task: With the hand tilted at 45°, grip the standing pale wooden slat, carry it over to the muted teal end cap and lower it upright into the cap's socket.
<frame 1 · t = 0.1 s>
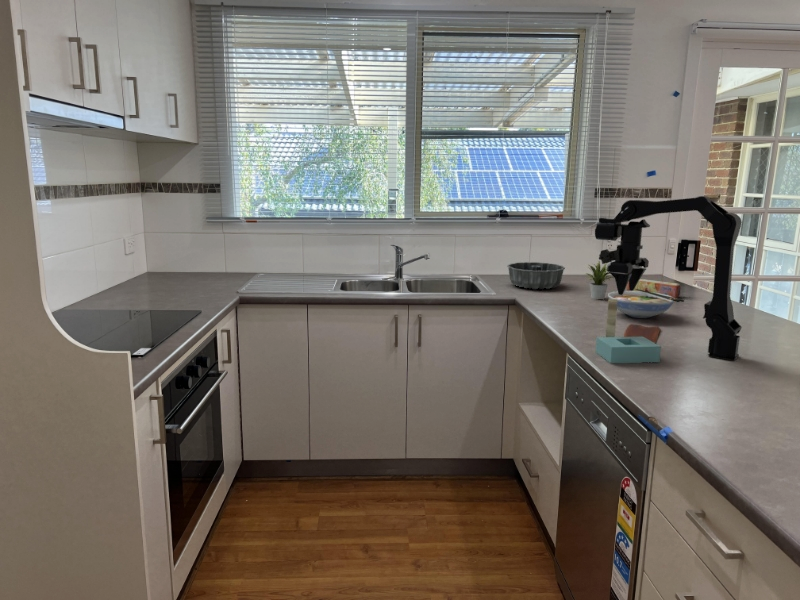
hand: (626, 292, 173), 15 cm above the worktop, tool pointing down, fingers open, 9 cm apart
ramen bowl: (639, 316, 206), on the worktop
slat: (609, 345, 167), on the worktop
snack package: (652, 295, 246), on the worktop
house plant: (597, 299, 236), on the worktop
bundt pan: (534, 287, 265), on the worktop
end cap: (626, 357, 156), on the worktop
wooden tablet: (640, 338, 179), on the worktop
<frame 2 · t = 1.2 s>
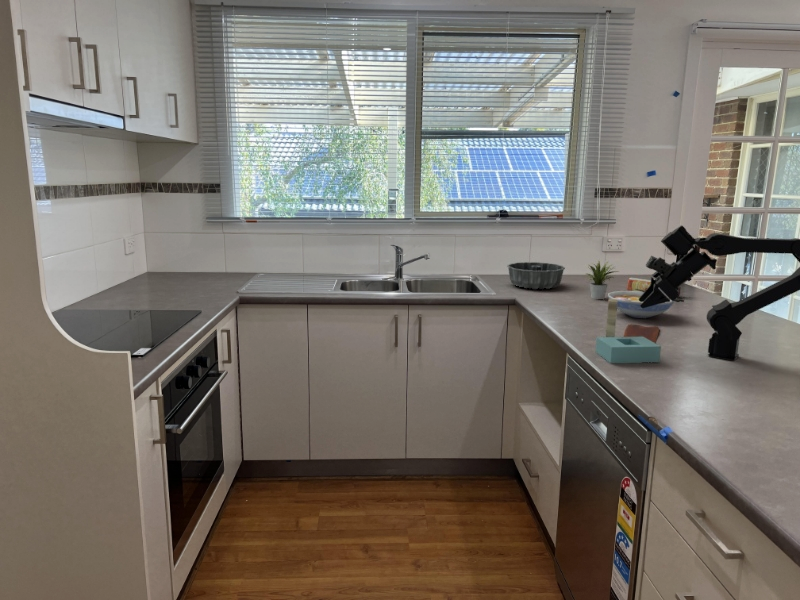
hand: (640, 303, 162), 13 cm above the worktop, tool tilted 45°, fingers open, 9 cm apart
nothing on the worktop moved.
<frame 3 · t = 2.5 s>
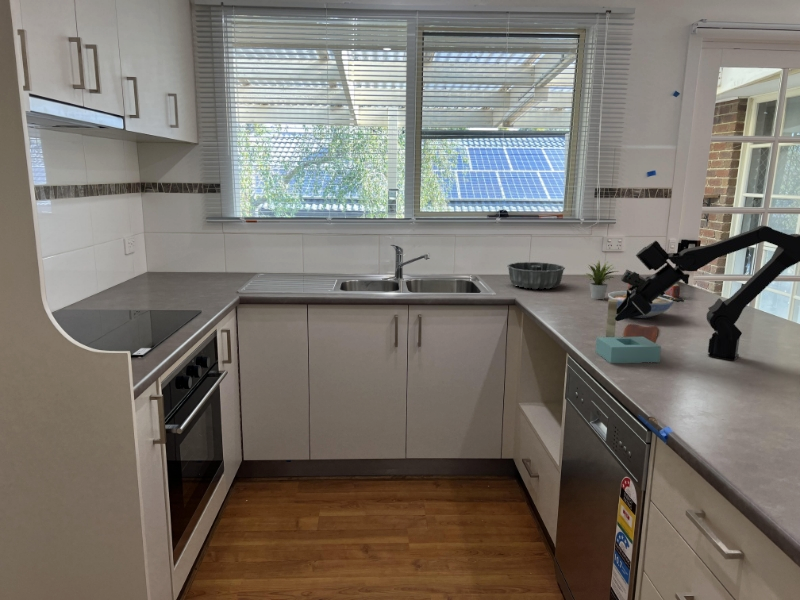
hand: (615, 316, 165), 9 cm above the worktop, tool tilted 45°, fingers open, 9 cm apart
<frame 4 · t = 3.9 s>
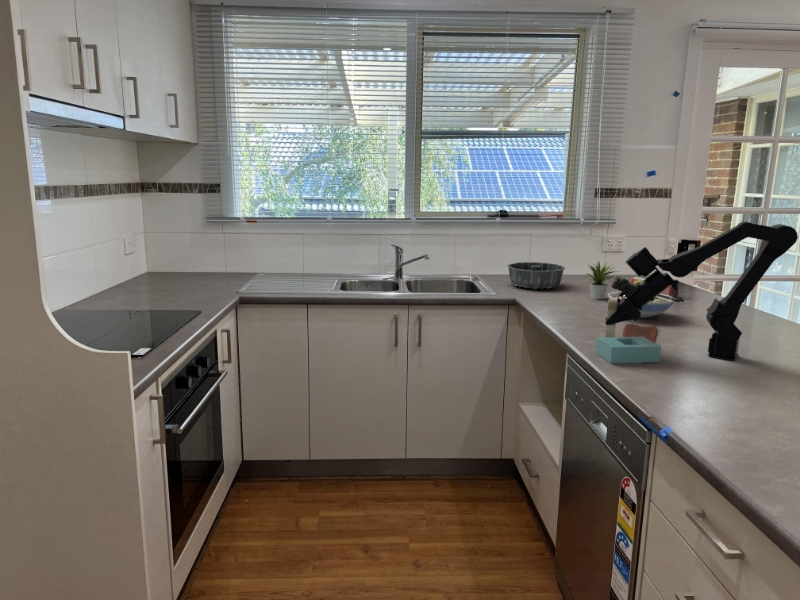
hand: (606, 322, 167), 7 cm above the worktop, tool tilted 45°, fingers closed on slat, 4 cm apart
slat: (609, 345, 167), on the worktop, touching gripper
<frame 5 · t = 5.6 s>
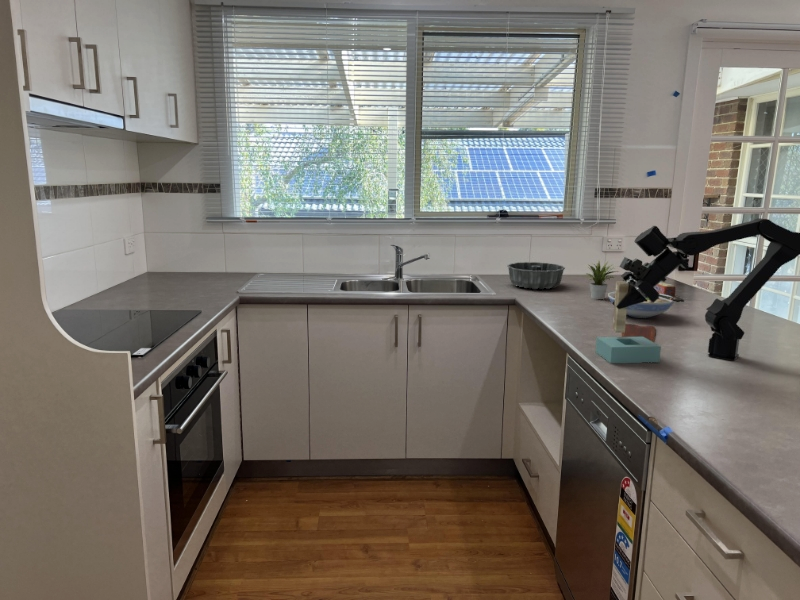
hand: (615, 306, 159), 13 cm above the worktop, tool tilted 45°, fingers closed on slat, 4 cm apart
slat: (618, 330, 160), point 6 cm above the worktop, touching gripper
when the fingers open (9 cm above the worktop, at t = 7.5 s): slat drops 1 cm, resting in end cap.
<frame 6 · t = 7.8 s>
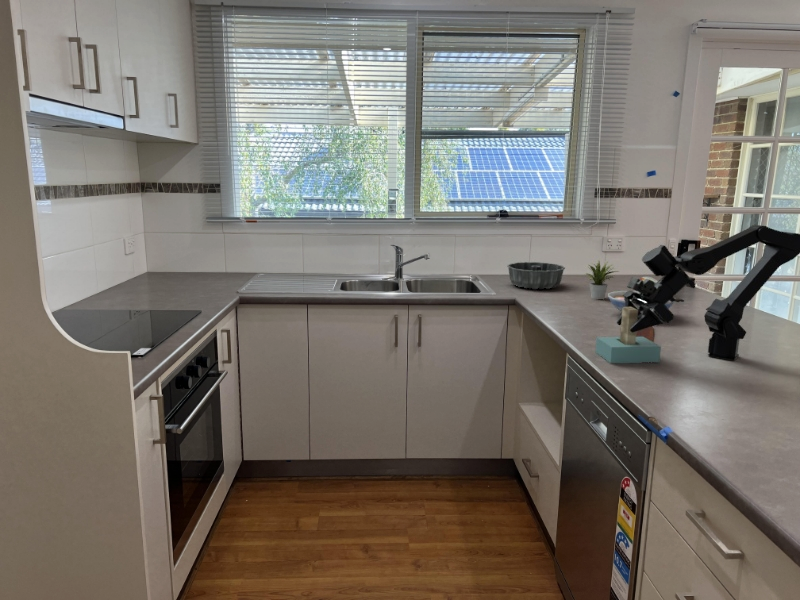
hand: (624, 327, 155), 9 cm above the worktop, tool tilted 45°, fingers open, 8 cm apart
slat: (626, 357, 156), resting in end cap
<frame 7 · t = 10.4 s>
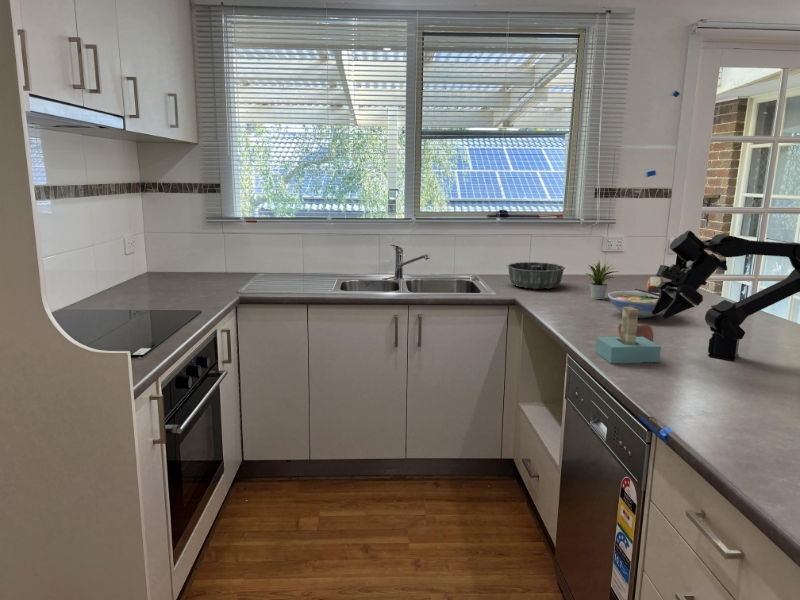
hand: (657, 315, 156), 12 cm above the worktop, tool tilted 40°, fingers open, 9 cm apart
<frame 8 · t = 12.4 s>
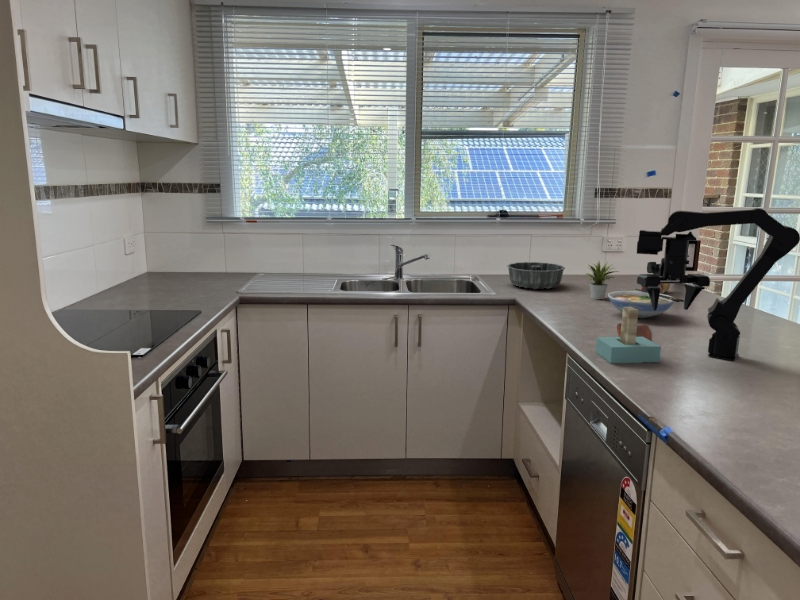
hand: (670, 309, 161), 12 cm above the worktop, tool pointing down, fingers open, 9 cm apart
at the end: slat 0.1 cm off-centre on the end cap, point 0.0 cm above the end cap's base; slat tilted 0°; the gripper is holding nothing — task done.
